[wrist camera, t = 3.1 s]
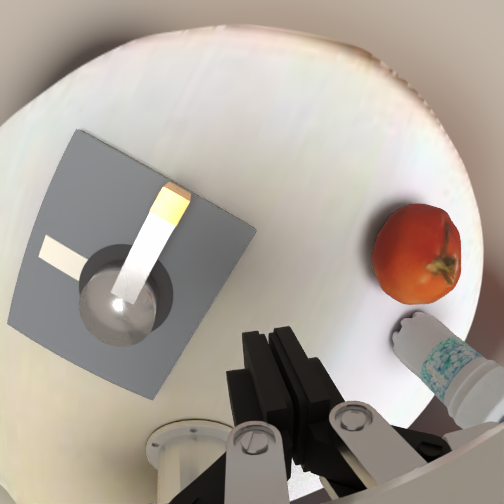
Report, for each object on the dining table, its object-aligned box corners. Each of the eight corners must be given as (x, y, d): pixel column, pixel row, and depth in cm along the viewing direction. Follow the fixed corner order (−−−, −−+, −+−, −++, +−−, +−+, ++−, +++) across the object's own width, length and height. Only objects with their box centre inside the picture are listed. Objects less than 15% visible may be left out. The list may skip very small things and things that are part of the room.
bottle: (379, 358, 34) (480, 477, 15) (393, 307, 32) (523, 419, 13) (421, 351, 35) (521, 449, 16) (436, 303, 34) (557, 393, 15)
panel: (254, 227, 27) (257, 231, 26) (153, 393, 30) (152, 402, 29) (81, 130, 22) (74, 129, 21) (12, 318, 25) (6, 325, 24)
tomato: (387, 303, 32) (431, 339, 24) (340, 246, 29) (385, 276, 22) (441, 242, 31) (491, 265, 24) (402, 179, 28) (459, 190, 21)
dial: (141, 336, 27) (134, 368, 22) (82, 305, 25) (63, 333, 20) (214, 206, 25) (218, 217, 20) (146, 168, 23) (134, 170, 18)
